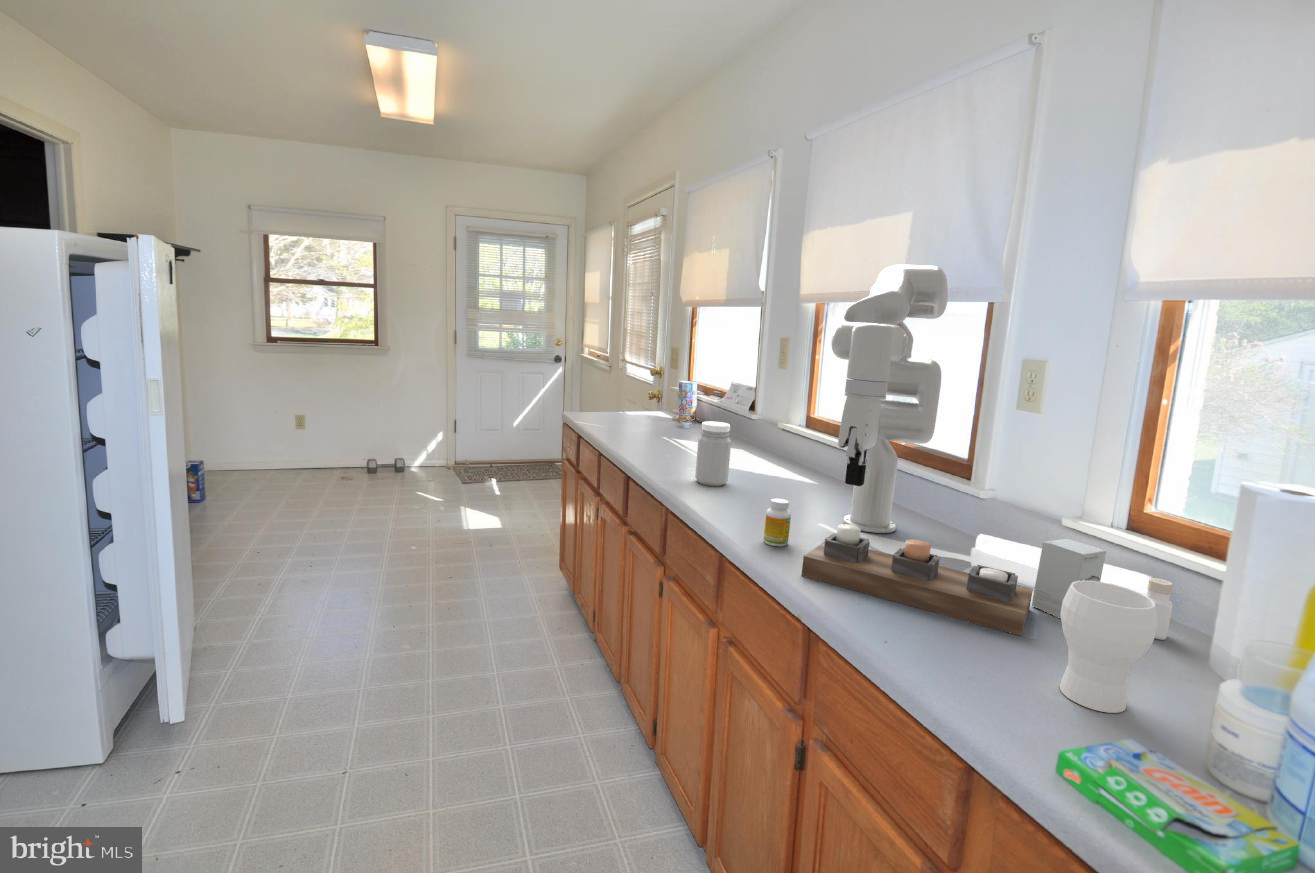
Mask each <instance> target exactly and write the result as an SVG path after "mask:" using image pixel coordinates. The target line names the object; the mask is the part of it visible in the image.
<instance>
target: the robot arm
mask: <svg viewBox="0 0 1315 873" xmlns="http://www.w3.org/2000/svg"><path fill="white" fill-rule="evenodd" d="M948 292H949V291H948V278H947V275H946V273H945V272H944V270H943V269H942V268H941V267H939V266H936V265H921V264H920V265H917V264H894V265H890V266H887V267H885V268H883V270H882V271H880V273H879V274H878V277H877V279H876V282H875V283H874V284H873V285H872V287H871V288H870V292H869V296H866V297H864V298H862V299H860V300H858V301H856V302H853V303H852V304H850V305H848V306H847V307H846V308H845V309H844V310H843V311H842V312H841V313H840V315H839V318H838V320H837V322H836V325H835V326H834V329H833V333H832V337H831V349H832V352H833V355H835V357H837V358H839V359H841V360H847V361H848V362H847V371H846V372H847V373H846V379H845V389H844V396H845V397H846V398H845V402H844V405H843V409H842V410H843V411H842V416H841V420H840V421H841V422H840V427H839V431H838V432H839V434H838V440H837V446H838V447H839V448H840V449H844V448H846V453H845V454H846V458H847V459H846V460H847V461H846V471H845V478H844V479H845V481H844V484H846V485H851V486H853V489H852V498H851V499H852V500H851V504H850V506H851V507H850V513H849V514H847V515H844V516H843V517H842V518H843V520H842V521H843V524H848V525H854V526H857V527H859V528H860V529H861V532H867V533H873V534H875V533H876V534H890V533H893V532H895V531H896V528H897V524H896V523H895V522H893V521H892V520H891V519H892V518H891V516H892V511H893V502H894V495H895V489H896V488H895V487H896V486H895V485H896V479H897V473H898V472H897V471H898V465H899V459H898V458H899V457H898V454H897V452H896V451H895V449H894V447H893V446H892V444H891V443H890V441H891V442H892V441H893V442H902V443H903V442H904V443H911V444H919V445H920V444H921V445H922V444H923V445H924V444H927V443H929V442H930V441H931V440H932V439H933V436H934V433H935V430H936V422H937V417H938V416H937V415H938V407H939V400H940V396H941V395H940V394H941V388H942V386H941V385H942V369H941V366H940V364H939V363H938V362H937V361H936V360H933V359H929V358H923V357H922V358H919V357H912V353H913V352H912V350H913V344H914V336H913V334H912V332H911V331H910V329H909V327H908V325H907V324H906V323H905V322H904V321H905V320H906V319H907V318H911V319H914V318H915V319H927V320H933V319H939V318H941V317H942V315H943V314H944V313H945V311H946V309H947V305H948V299H949V298H948V296H949V293H948ZM887 396H892V397H893V396H895V397H902V398H913V399H915V400H916V401H918V402H907V401H900V400H892V399H891V400H890V399H887Z"/></svg>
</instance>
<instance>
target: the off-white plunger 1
mask: <svg viewBox="0 0 1315 873" xmlns="http://www.w3.org/2000/svg"><path fill="white" fill-rule="evenodd" d="M861 532H862V531H861V529H860V528H859V527H857V526H854V525H848V524H844V523H843V524H838V525H837V527H836V533H837V534H836V541H837V542H841V543H845V544H849V545H854V546H857V545H859V540H860V537H861Z"/></svg>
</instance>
